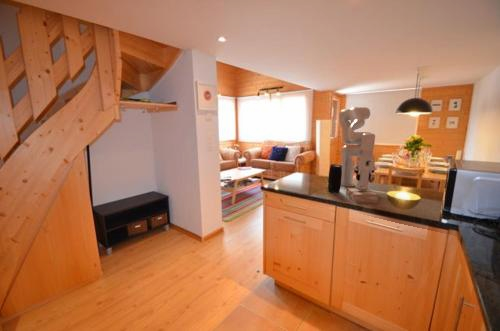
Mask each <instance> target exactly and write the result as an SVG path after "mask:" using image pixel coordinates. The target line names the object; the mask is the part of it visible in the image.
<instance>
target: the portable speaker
mask: <svg viewBox="0 0 500 331" xmlns="http://www.w3.org/2000/svg"><path fill="white" fill-rule="evenodd" d="M341 178H342V165H341V164H336V163H331V164H330V165H329V171H328V181H327V184H328V185H327V188H328V189H327V191H328V192H332V194H333V193H334V194H338V193H339V192H340V190H341Z"/></svg>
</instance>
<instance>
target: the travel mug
mask: <svg viewBox="0 0 500 331" xmlns="http://www.w3.org/2000/svg"><path fill="white" fill-rule="evenodd" d="M368 162H371V161H366V164H368V165H365V166H366V167H365V171H361V172H360V180H357V181H356V183H357V184H356V188H357V189H358V190H361V191H366V190H367V188H368V186H369V180H368V179H369V171H368V168H369V167H368V166H369V163H368Z"/></svg>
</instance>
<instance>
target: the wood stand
mask: <svg viewBox="0 0 500 331" xmlns="http://www.w3.org/2000/svg"><path fill="white" fill-rule="evenodd" d="M345 195H346V196H347V197H348V198H349V199H350V200H352V201H353V202H354V203H378V200H379V194H378V193H376V192H374V191H372V190H371V189H369V188H368V187H367V190H366V191H361V190H358V189H357V187H346V191H345Z"/></svg>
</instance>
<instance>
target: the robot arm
mask: <svg viewBox="0 0 500 331" xmlns="http://www.w3.org/2000/svg"><path fill="white" fill-rule="evenodd" d="M370 117H371V110H370V109H369V107H364V106H363V107H362V106H360V107H358V106H357V107H351V108H346V109H342V110H340V112H339V114H338V119H339V120H338V121H339V123H340V127H341V135H342V137H341V138H342V143H343V144H344V145H343V146H342V147H341V150H340V153H341V154H340V155H341V162H340V165H342V178H341V186H342V187H345V188H353V187H354V186H355V183H354V181H353V180H354V173H355V179H356V180H357V181H358V180H360V172H361V171H365V167H366V166H365V165H368V164H366V161H371V162H368V163H369V166H368V167H369V168H368V171H369V179H368V182H370V181H371V179H372V175H373V173H375V171H377V170H378V168H377V167H376V165H375V160H376V159H375V155H374V149H375V141H376V135H375V133H372V132H367V131H356V130H358V129H361V128H363V127H364V126H365V125H366V124H365V122H366V120H368V119H369V118H370ZM354 158H355V159H356V162H355V161H354V160H353V159H354Z"/></svg>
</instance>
